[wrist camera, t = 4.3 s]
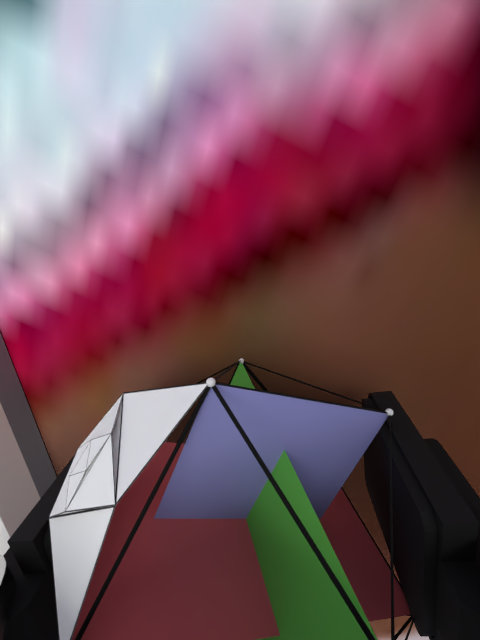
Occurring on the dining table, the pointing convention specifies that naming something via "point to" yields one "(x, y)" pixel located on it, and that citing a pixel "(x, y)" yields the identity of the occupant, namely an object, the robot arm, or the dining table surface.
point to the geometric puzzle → (221, 520)
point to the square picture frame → (18, 454)
